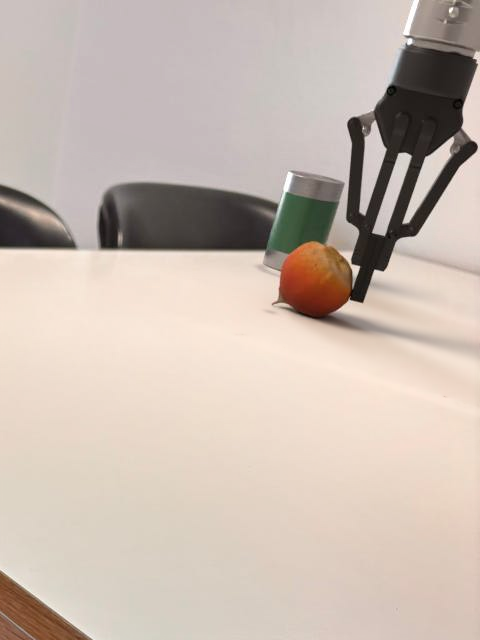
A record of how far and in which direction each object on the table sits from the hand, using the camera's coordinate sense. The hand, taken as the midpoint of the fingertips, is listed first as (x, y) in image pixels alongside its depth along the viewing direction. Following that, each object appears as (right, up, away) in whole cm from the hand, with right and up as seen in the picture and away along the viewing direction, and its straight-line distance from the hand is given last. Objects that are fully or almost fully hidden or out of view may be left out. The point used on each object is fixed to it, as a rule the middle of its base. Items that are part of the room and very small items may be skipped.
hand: (356, 299), depth 113 cm
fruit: (-5, -1, +2) cm, 5 cm away
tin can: (-1, +12, +24) cm, 27 cm away
